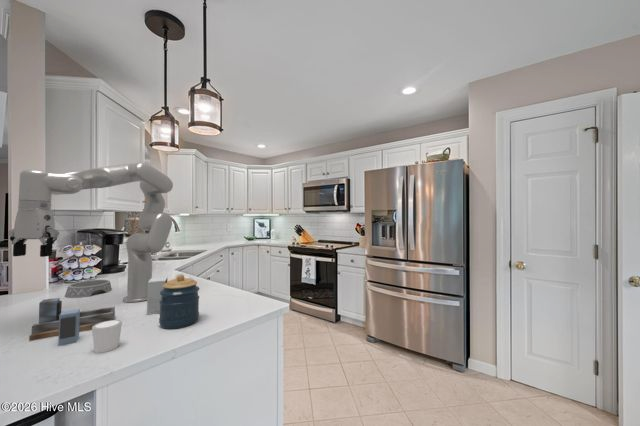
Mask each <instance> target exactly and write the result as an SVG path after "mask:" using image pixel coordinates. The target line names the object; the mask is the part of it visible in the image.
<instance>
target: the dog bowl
mask: <svg viewBox="0 0 640 426" xmlns="http://www.w3.org/2000/svg"><path fill="white" fill-rule="evenodd" d="M112 290H113V288H112V284H111V280H109V279H89V280H82V281H77V282H72V283H70V284H69V285H67V289H66V291H65V294H64V298H67V299H77V298H78V299H80V298H81V299H82V298H89V297H91V296H92V295H96V294H100V293H103V292H105V294H107V293H111V292H112Z"/></svg>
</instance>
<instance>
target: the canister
mask: <svg viewBox="0 0 640 426" xmlns="http://www.w3.org/2000/svg"><path fill="white" fill-rule="evenodd" d="M197 284H198V281H197V280H194V279H193V278H191V277H190V278H189V277H185V275H184V274H181V273H180V274H178V275H177V276H176V278H174V279H170V280H169V281H168V280H167V283H165V284H164V285H163V287H164V289H163V290H162V291H160V295H161V300H160V302H159V303H160V313H159V319H158V323H159V327H160V328H162V329H167V330H171V329H173V330H174V329H181V328H184V327H189V326H192V325H193V324H196V323H197V322H198V320H199V317H200V312H199V310H200V309H199V305H200V295H199V291H200V287H199V286H197Z"/></svg>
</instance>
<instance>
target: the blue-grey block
mask: <svg viewBox="0 0 640 426" xmlns="http://www.w3.org/2000/svg"><path fill="white" fill-rule="evenodd" d="M80 312H81V309H80V308H77V309H76V308H75V309H70V310H63V311H61V314H60V315H59V336H58V338H57V340H58V341H57V342H58V343H57V346H63V345H67V344H73V343H77V342H78V340H79V338H80V332H79V322H80Z"/></svg>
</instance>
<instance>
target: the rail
mask: <svg viewBox="0 0 640 426" xmlns="http://www.w3.org/2000/svg"><path fill="white" fill-rule="evenodd" d="M62 304H63V301H62V300H61V298H60V297H55V298H47V299H42V300H41V301H40V302H39V304H38V306H39V307H38V323H34V324H32V326H31V334H30V335H29V336H28V337H29V339H28V340H29V342H31V341H37V340H41V339H42V340H43V339H48V338H53V337H54V338H55V337H59V315H60V314H61V313H62V308H63V307H62ZM115 317H116V308H115V306H110V307H102V308H97V309H95V308H94V309H90V310H84V311H80V322H79V333H81V332H86V331H91V330H92V327H93V326H94V325H95V324H98V323H101V322H104V321H109V320H115Z"/></svg>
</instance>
